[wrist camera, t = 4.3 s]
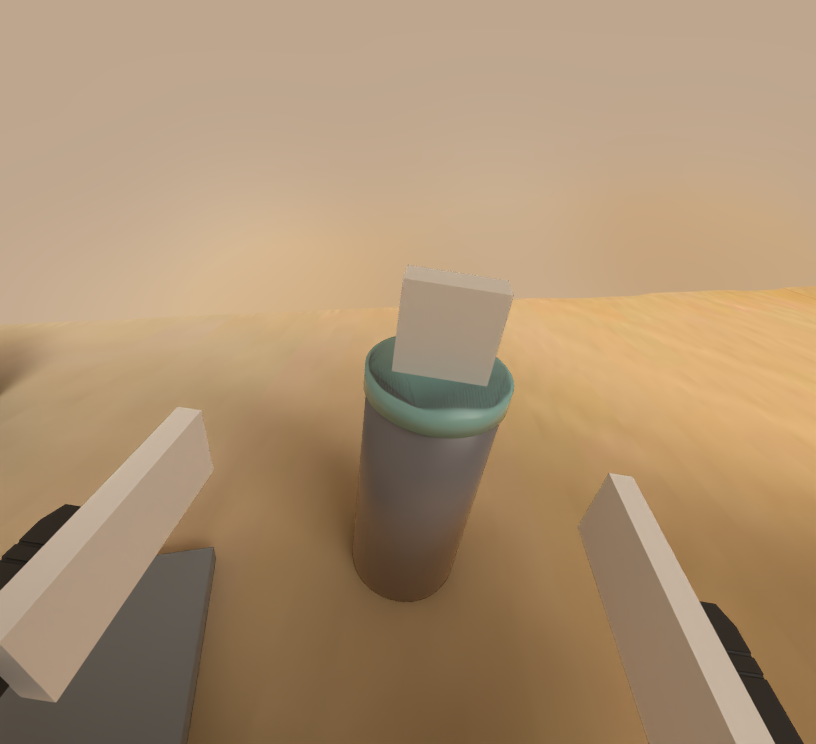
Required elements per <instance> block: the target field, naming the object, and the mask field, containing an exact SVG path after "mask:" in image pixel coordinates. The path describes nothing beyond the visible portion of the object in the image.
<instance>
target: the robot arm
mask: <svg viewBox="0 0 816 744" xmlns="http://www.w3.org/2000/svg"><path fill="white" fill-rule="evenodd" d="M213 471H214V469H213V465H212V460H211V455H210V450H209V445H208V440H207V435H206V430H205V425H204V421H203V416H202V411H201V410H197V409H190V408H184V407H177V408H176V409H175V410H174V411H173V412H172V413H171V414H170V415H169V416H168V417H167V418H166V419H165V420H164V421H163V422H162V423H161V424H160V425H159V427H158V428H157V429H156V430H155V431H154V432H153V433H152V434H151V435H150V436H149V437H148V438H147V439H146V440H145V441H144V442H143V443H142V444H141V445H140V446H139V447H138V448H137V449H136V450H135V451H134V452H133V454H132V455H131V456H130V457H129V458H128V459H127V460H126V461H125V462H124V463H123V464H122V465H121V466H120V467H119V468H118V469H117V470H116V471H115V472H114V473H113V474H112V475H111V476H110V477H109V478H108V479H107V480H106V482H105V483H104V484H103V485H102V486H101V487H100V488H99V489H98V490H97V491H96V492H95V493H94V494H93V495H92V496H91V497H90V498H89V499H88V500H87V501H86V502H85V503H84V504H83V505H82V506H81V507H80V506H74V505H67V504H65V505H64V506H62V507H60V508H59V509H57V510H55V511H54V512H52V513H51V514H49V515H47V516H46V517H44V518H43V519H41V520H40V521H39V522H37V523H36V524H35V525H34V526H33V527H32V528H31V529H30V530H29V531H28V532H27V533H26V534H25V535H24V536H23V537H22V538H21V539H20V540H19V543H18V544H15V545H14V546H13V547H12V548H11V549H9V550H8V551H7V552H6V553H5V554H4V555H3V556H2V559H1V560H0V697H1V696H2V695H3V693H4V692H5V691H6V690H7V688H8V687H10V688H11V689H13V690H14V691H15V692H16V693H17V694H18V695H19V696H20V697H23V698H29V699H36V700H42V701H49V702H55V703H56V702H57V701H58V699H59V698H60V696H61V695H62V693H63V692H64V690H65V689H66V687H67V686H68V684H69V683H70V681H71V680H72V679H73V677H74V676H75V674H76V673H77V671H78V670H79V668H80V667H81V665H82V664H83V662H84V661H85V659H86V658H87V656H88V655H89V653H90V652H91V651H92V649H93V648H94V646H95V645H96V643H97V642H98V640H99V639H100V637H101V636H102V634H103V633H104V631H105V630H106V628H107V627H108V626H109V624H110V623H111V621H112V620H113V618H114V617H115V615H116V614H117V612H118V611H119V609H120V608H121V606H122V605H123V603H124V602H125V600H126V599H127V598H128V596H129V595H130V593H131V592H132V590H133V589H134V587H135V586H136V584H137V583H138V581H139V580H140V578H141V577H142V575H143V574H144V573H145V571H146V570H147V568H148V567H149V565H150V564H151V562H152V561H153V559H154V558H155V556H156V555H157V553H158V552H159V550H160V549H161V547H162V546H163V545H164V543H165V542H166V540H167V539H168V537H169V536H170V534H171V533H172V531H173V530H174V528H175V527H176V525H177V524H178V522H179V521H180V519H181V518H182V517H183V515H184V514H185V512H186V511H187V509H188V508H189V506H190V505H191V503H192V502H193V500H194V499H195V497H196V496H197V494H198V493H199V492H200V490H201V489H202V487H203V486H204V484H205V483H206V481H207V480H208V478H209V477H210V475H211V474H212V472H213ZM578 529H579V532H580V535H581V538H582V541H583V545H584V548H585V551H586V554H587V557H588V560H589V563H590V566H591V569H592V572H593V575H594V578H595V581H596V584H597V587H598V590H599V593H600V596H601V599H602V602H603V606H604V609H605V612H606V615H607V618H608V621H609V624H610V627H611V630H612V633H613V636H614V639H615V642H616V645H617V648H618V651H619V654H620V657H621V660H622V663H623V667H624V670H625V673H626V676H627V679H628V682H629V685H630V688H631V691H632V694H633V697H634V700H635V703H636V706H637V709H638V712H639V715H640V718H641V721H642V725H643V728H644V731H645V734H646V737H647V740H648V743H649V744H804V743H803V742H802V740H801V738H800V737H799V735H798V733H797V731H796V730H795V728H794V726H793V724H792V723H791V721H790V719H789V718H788V716H787V714H786V712H785V711H784V709H783V707H782V705H781V704H780V702H779V700H778V699H777V697H776V695H775V693H774V692H773V690H772V688H771V686H770V685H769V683H768V681H767V680H765V679H764V678H763V673H762V671H761V669H760V667H759V666H758V664H757V662H756V661H755V659H754V658H752V657H751V652H750V650H749V648H748V647H747V645H746V643H745V642H744V640H743V638H742V636H741V635H740V633H739V631H738V629H737V628H736V626H735V625H734V624H733V623H732V622H731V621H730V620H729V619H728V617H727V616H726V615H725V614H724V613H723V612H722V611H721V610H720V608H719V607H718V606H717V605H716V604H713V603H707V602H700V601H699V600H698V598H697V596H696V594H695V592H694V590H693V589H692V587H691V585H690V583H689V581H688V579H687V577H686V575H685V574H684V572H683V570H682V568H681V566H680V564H679V562H678V560H677V559H676V557H675V555H674V553H673V551H672V549H671V547H670V545H669V544H668V542H667V540H666V538H665V536H664V534H663V532H662V530H661V529H660V527H659V525H658V523H657V521H656V519H655V517H654V515H653V514H652V512H651V510H650V508H649V506H648V504H647V502H646V500H645V499H644V497H643V495H642V493H641V491H640V489H639V487H638V485H637V483H636V482H635V480H634V478H633V477H632V476H626V475H619V474H613V473H609V474H608V475H607V477H606V479H605V481H604V482H603V484H602V486H601V488H600V489H599V491H598V493H597V494H596V496H595V498H594V500H593V501H592V503H591V505H590V506H589V508H588V510H587V512H586V513H585V515H584V517H583V518H582V520H581V522H580V524H579V525H578Z"/></svg>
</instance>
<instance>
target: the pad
mask: <svg viewBox="0 0 816 744" xmlns="http://www.w3.org/2000/svg"><path fill="white" fill-rule="evenodd" d="M215 561H216V556H215V552H214V548H213V547H209V548H202V549H195V550H188V551H181V552H174V553H167V554H161V555H156V556H155V558H154V559H153V561H152V562H151V564H150V565H149V567H148V568H147V570H146V571H145V573H144V574H143V575H142V577H141V578H140V580H139V581H138V583H137V584H136V586H135V587H134V589H133V590H132V592H131V593H130V595H129V596H128V598H127V599H126V600H125V602H124V603H123V605H122V606H121V608H120V609H119V611H118V612H117V614H116V615H115V617H114V618H113V620H112V621H111V623H110V624H109V626H108V627H107V628H106V630H105V631H104V633H103V634H102V636H101V637H100V639H99V640H98V642H97V643H96V645H95V646H94V648H93V649H92V651H91V652H90V653H89V655H88V656H87V658H86V659H85V661H84V662H83V664H82V665H81V667H80V668H79V670H78V671H77V673H76V674H75V676H74V677H73V679H72V680H71V681H70V683H69V684H68V686H67V687H66V689H65V690H64V692H63V693H62V695H61V696H60V698H59V699H58V701H57V702H56V703H55V702H49V701H42V700H36V699H29V698H23V697H20V696H19V695H18V694H17V693H16V692H15V691H14V690H13V689H11V688H10V687H8V688H7V690H6V691H5V692H4V693H3V695H2V696H1V697H0V744H187V740H188V734H189V727H190V721H191V715H192V708H193V702H194V695H195V689H196V683H197V676H198V670H199V663H200V657H201V650H202V644H203V638H204V631H205V625H206V618H207V612H208V606H209V599H210V593H211V586H212V580H213V573H214V567H215Z"/></svg>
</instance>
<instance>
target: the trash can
mask: <svg viewBox="0 0 816 744" xmlns="http://www.w3.org/2000/svg"><path fill="white" fill-rule="evenodd" d="M513 296H514V295H513V292H512V290H511V287H510V284H509V281H507V280H501V279H495V278H488V277H482V276H476V275H469V274H463V273H456V272H449V271H443V270H437V269H431V268H425V267H417V266H412V265H407V268H406V271H405V274H404V277H403V284H402V292H401V300H400V308H399V316H398V324H397V332H396V336H395V337H392V338H388V339H386V340H384V341H382V342H380V343H378V344H377V345H376V346H374V347H373V348H372V349H371V350H370V352H369V353H368V355H367V357H366V362H365V374H364V391H365V395H366V398H365V410H364V422H363V434H362V445H361V457H360V469H359V481H358V492H357V504H356V516H355V527H354V539H353V561H354V564H355V568H356V570H357V572H358V574H359V576H360V577H361V579H362V580H363V581H364V583H365V584H366V585H367V586H368V587H369V588H370V589H371V590H373V591H374V592H375V593H377V594H379V595H381V596H382V597H385V598H387V599H390V600H394V601H401V602H411V601H417V600H421V599H424V598H426V597H428V596H430V595H432V594H433V593H434V592H436V591H437V590H438V589H439V588H440V587H441V586H442V585H443V584H444V582H445V581H446V579H447V577H448V575H449V572H450V570H451V567H452V564H453V561H454V558H455V555H456V552H457V549H458V546H459V543H460V540H461V537H462V534H463V531H464V528H465V525H466V522H467V519H468V516H469V513H470V510H471V507H472V504H473V501H474V498H475V495H476V492H477V489H478V486H479V483H480V480H481V477H482V474H483V471H484V468H485V465H486V462H487V459H488V456H489V453H490V450H491V447H492V444H493V441H494V438H495V435H496V432H497V429H498V426H499V423H500V422H501V421H502V420H503V418H504V417H505V414H506V412H507V409H508V406H509V403H510V400H511V397H512V394H513V391H514V381H513V378H512V375H511V373H510V371H509V370H508V369H507V367H506V366H505V365H504V364H503V363H502V362H501V361H500V360H499V359H498V358H497V357H496V355H497V351H498V348H499V344H500V341H501V338H502V334H503V331H504V327H505V324H506V320H507V317H508V314H509V310H510V307H511V303H512V300H513Z"/></svg>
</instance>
